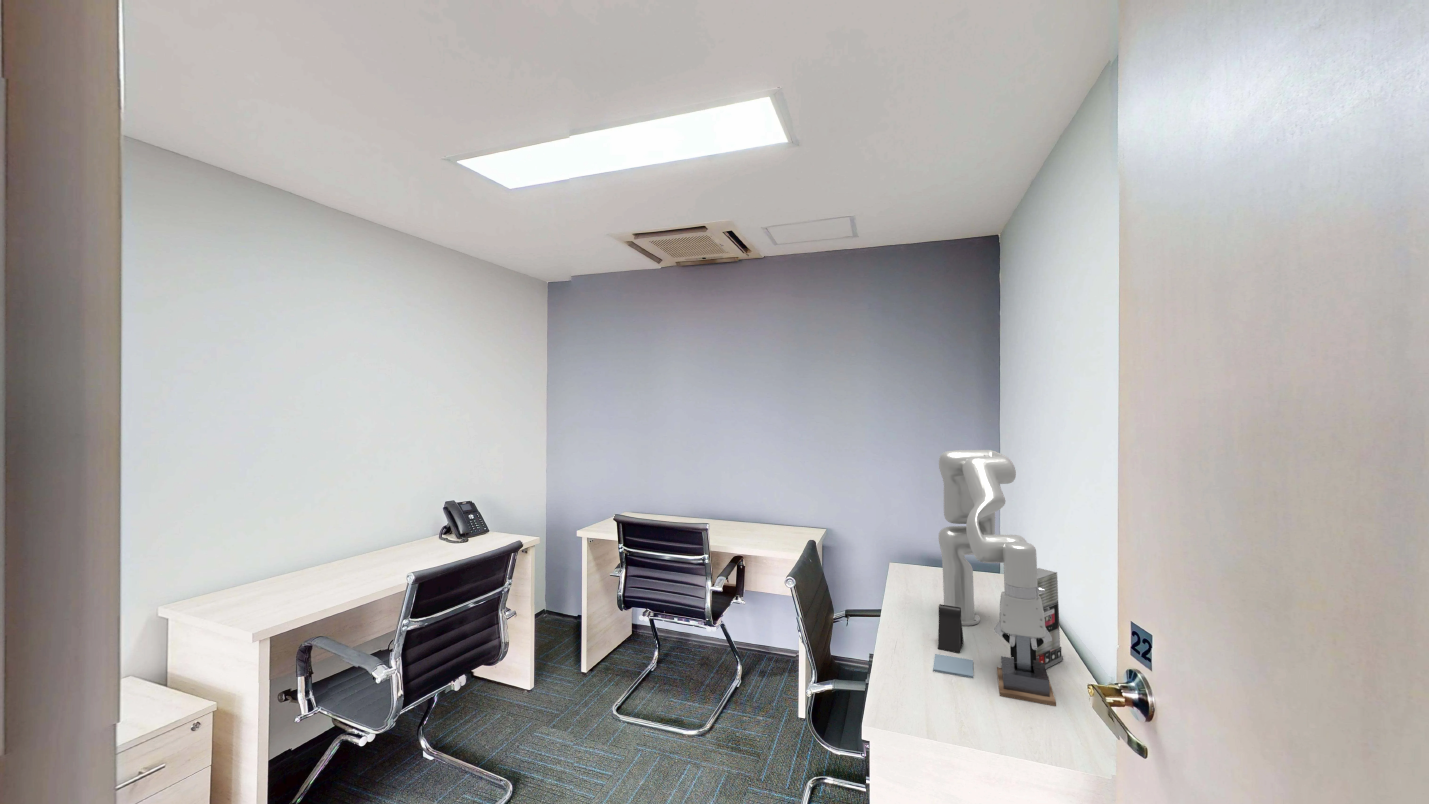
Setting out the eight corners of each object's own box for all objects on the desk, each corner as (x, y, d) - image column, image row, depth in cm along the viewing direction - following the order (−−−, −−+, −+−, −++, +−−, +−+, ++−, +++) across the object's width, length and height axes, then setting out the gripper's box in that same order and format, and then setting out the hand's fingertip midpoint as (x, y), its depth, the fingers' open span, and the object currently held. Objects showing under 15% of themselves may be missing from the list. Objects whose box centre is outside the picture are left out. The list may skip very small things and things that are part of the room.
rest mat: (935, 655, 156) (935, 653, 156) (972, 661, 151) (972, 659, 151) (933, 671, 147) (933, 669, 147) (973, 678, 142) (973, 676, 142)
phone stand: (959, 653, 157) (958, 613, 157) (937, 649, 160) (936, 609, 160) (963, 642, 164) (962, 603, 164) (943, 638, 167) (941, 600, 168)
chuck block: (1001, 670, 144) (1001, 656, 144) (1044, 678, 140) (1044, 662, 140) (1003, 688, 135) (1003, 673, 135) (1049, 697, 130) (1049, 680, 131)
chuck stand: (997, 670, 146) (997, 666, 146) (1048, 679, 141) (1048, 675, 141) (999, 695, 133) (999, 691, 133) (1055, 706, 128) (1055, 701, 128)
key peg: (1016, 671, 139) (1015, 630, 139) (1029, 673, 138) (1028, 631, 138) (1017, 677, 137) (1016, 634, 137) (1031, 679, 135) (1029, 636, 135)
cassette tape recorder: (1037, 674, 143) (1033, 582, 144) (1015, 665, 148) (1011, 576, 149) (1064, 661, 150) (1060, 573, 151) (1041, 653, 156) (1038, 567, 156)
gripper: (1055, 589, 137) (1058, 660, 137) (985, 582, 145) (987, 649, 144) (1060, 599, 131) (1062, 674, 131) (986, 591, 138) (988, 662, 138)
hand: (1023, 660), depth 137 cm, fingers closed on key peg, 3 cm apart
